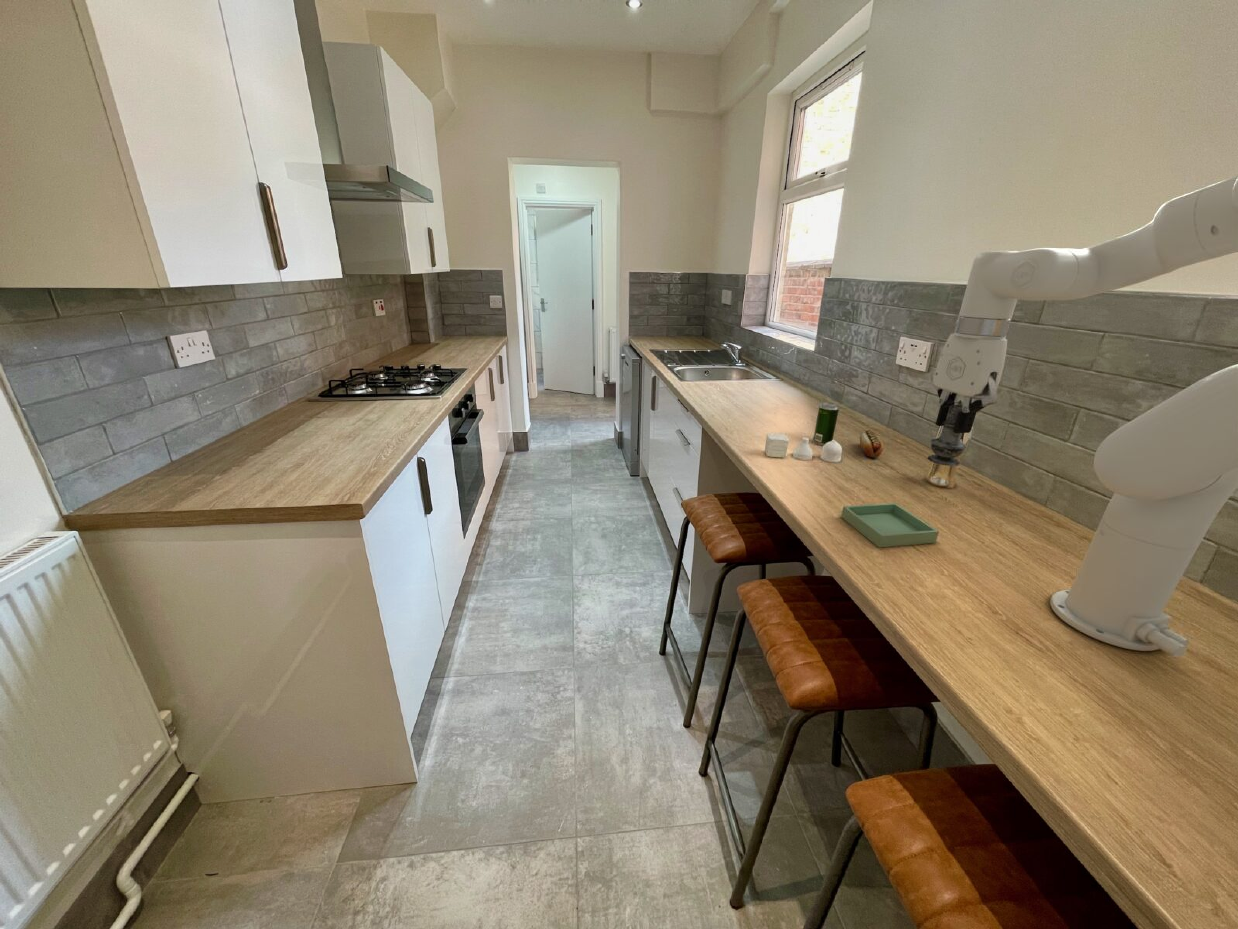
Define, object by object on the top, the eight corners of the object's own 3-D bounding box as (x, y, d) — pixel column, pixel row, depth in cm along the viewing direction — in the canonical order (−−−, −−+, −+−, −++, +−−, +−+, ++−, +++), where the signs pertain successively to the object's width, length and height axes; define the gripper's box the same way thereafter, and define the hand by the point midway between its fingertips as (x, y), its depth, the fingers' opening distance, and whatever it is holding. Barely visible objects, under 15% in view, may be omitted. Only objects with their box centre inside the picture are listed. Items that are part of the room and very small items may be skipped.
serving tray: (935, 542, 94) (939, 531, 93) (878, 547, 92) (881, 535, 91) (892, 513, 105) (895, 502, 104) (840, 516, 103) (843, 506, 102)
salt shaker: (966, 467, 91) (986, 405, 86) (931, 464, 92) (949, 402, 88) (954, 457, 96) (971, 397, 92) (921, 454, 97) (937, 395, 93)
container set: (766, 457, 134) (769, 439, 132) (764, 451, 139) (766, 432, 137) (842, 462, 132) (846, 443, 130) (837, 456, 136) (841, 437, 134)
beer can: (827, 447, 143) (834, 407, 138) (809, 442, 146) (816, 403, 142) (834, 443, 146) (842, 404, 142) (817, 438, 150) (824, 400, 145)
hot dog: (862, 459, 134) (866, 442, 133) (855, 443, 146) (859, 428, 144) (882, 461, 133) (886, 444, 131) (873, 445, 145) (877, 429, 143)
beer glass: (950, 491, 116) (969, 431, 110) (919, 482, 121) (935, 424, 115) (960, 483, 120) (978, 425, 114) (929, 475, 125) (945, 418, 119)
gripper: (927, 323, 92) (904, 416, 99) (1004, 334, 77) (970, 444, 84) (962, 323, 93) (937, 416, 100) (1045, 334, 78) (1008, 442, 85)
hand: (952, 427), depth 92 cm, fingers closed on salt shaker, 3 cm apart
